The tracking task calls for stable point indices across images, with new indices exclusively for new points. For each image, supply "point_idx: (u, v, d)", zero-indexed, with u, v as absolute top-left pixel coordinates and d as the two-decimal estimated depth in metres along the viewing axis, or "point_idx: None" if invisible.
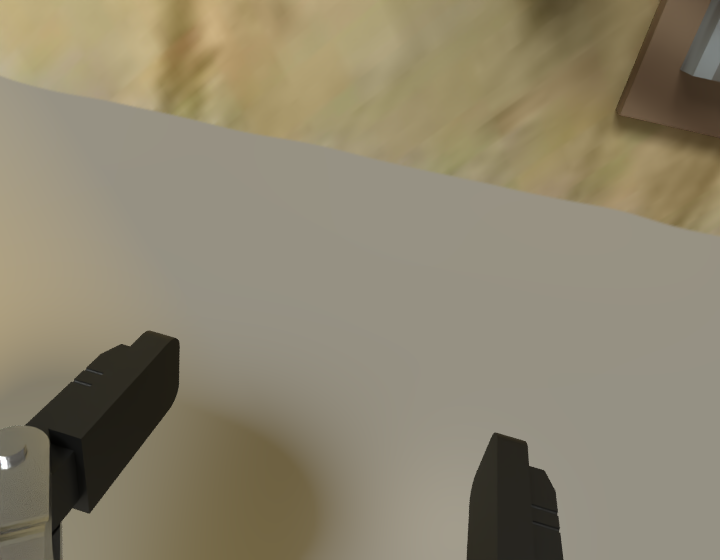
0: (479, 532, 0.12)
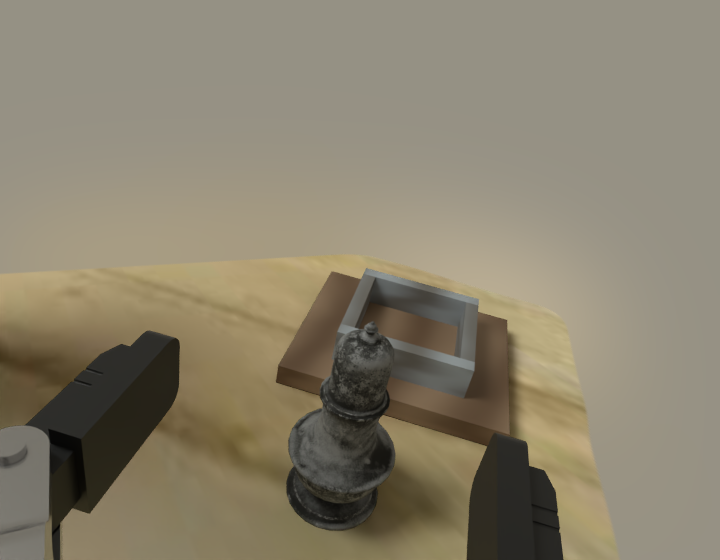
0: (479, 532, 0.12)
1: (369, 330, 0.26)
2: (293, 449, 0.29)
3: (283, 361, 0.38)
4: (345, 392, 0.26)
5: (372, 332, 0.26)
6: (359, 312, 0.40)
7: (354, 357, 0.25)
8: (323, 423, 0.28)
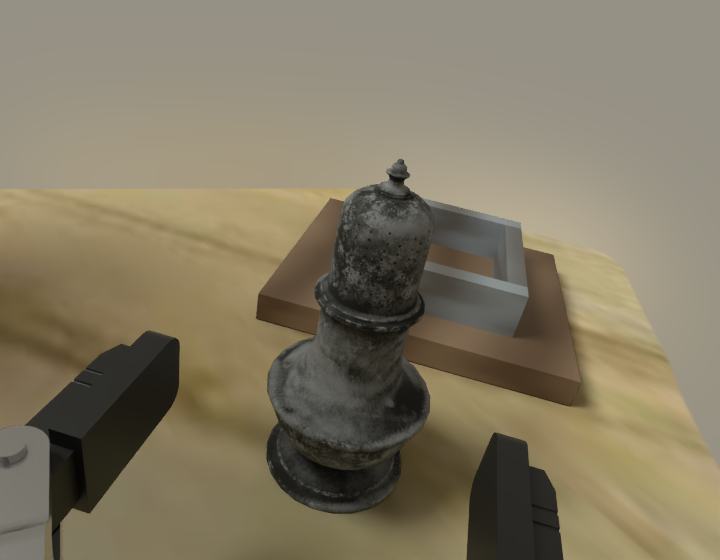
0: (479, 532, 0.12)
1: (395, 173, 0.15)
2: (274, 387, 0.19)
3: (265, 289, 0.28)
4: (356, 281, 0.16)
5: (400, 176, 0.15)
6: None
7: (371, 216, 0.15)
8: (320, 343, 0.18)
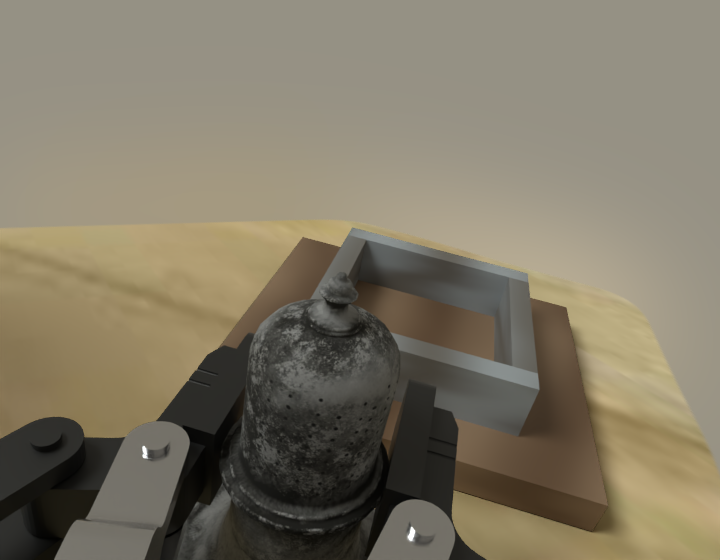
0: None
1: (332, 296, 0.09)
2: None
3: None
4: (273, 461, 0.10)
5: (341, 301, 0.09)
6: None
7: (290, 371, 0.09)
8: (231, 525, 0.12)
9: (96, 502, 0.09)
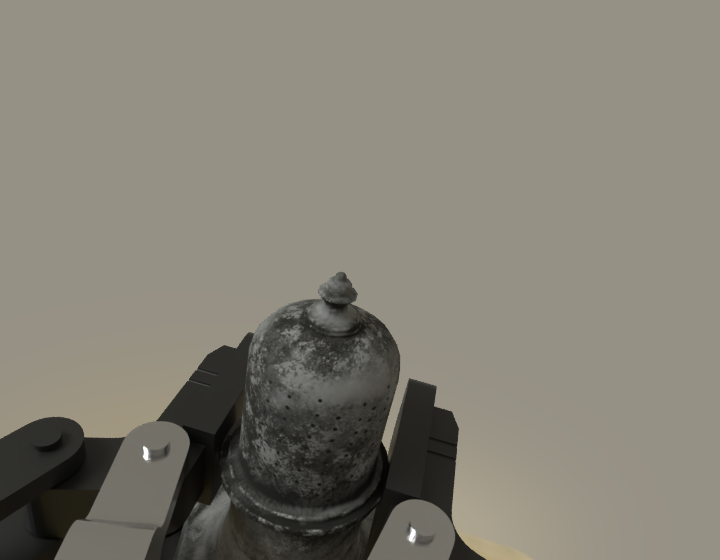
0: None
1: (331, 296, 0.09)
2: None
3: None
4: (272, 462, 0.10)
5: (340, 302, 0.09)
6: None
7: (290, 371, 0.09)
8: (231, 526, 0.12)
9: (96, 502, 0.09)
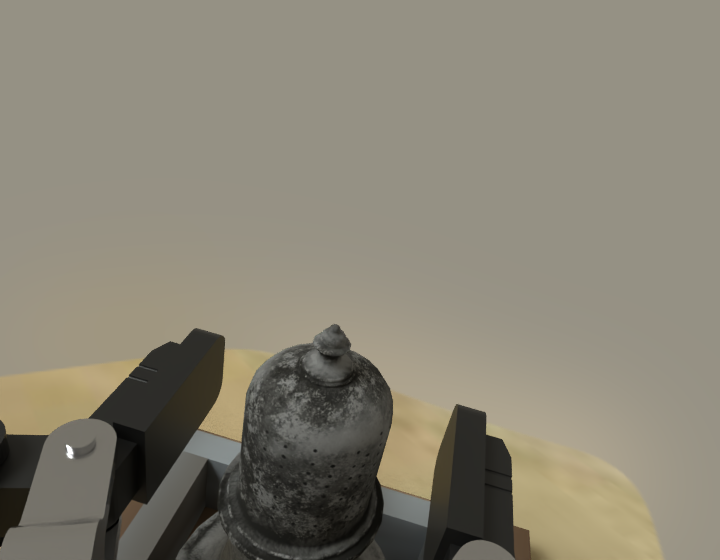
0: (438, 496, 0.12)
1: (326, 348, 0.10)
2: None
3: None
4: (269, 505, 0.10)
5: (334, 354, 0.10)
6: None
7: (286, 422, 0.09)
8: None
9: (27, 508, 0.09)
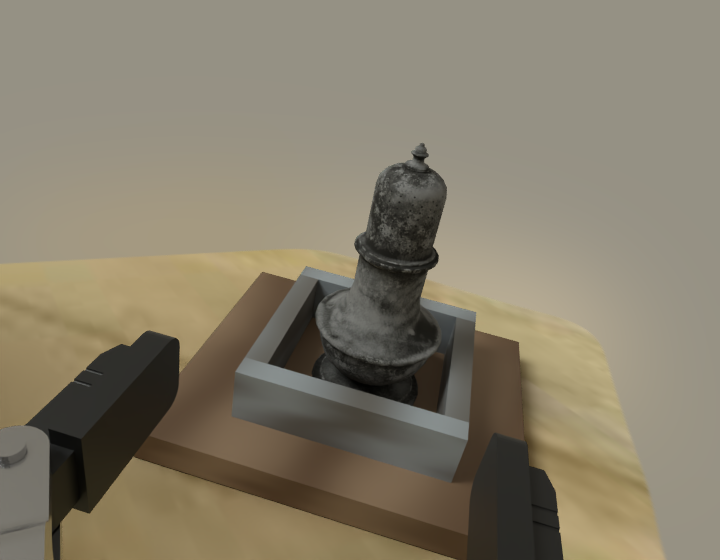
0: (479, 532, 0.12)
1: (418, 153, 0.21)
2: (322, 321, 0.24)
3: None
4: (388, 234, 0.22)
5: (422, 156, 0.21)
6: (281, 336, 0.25)
7: (400, 185, 0.21)
8: (358, 285, 0.23)
9: None
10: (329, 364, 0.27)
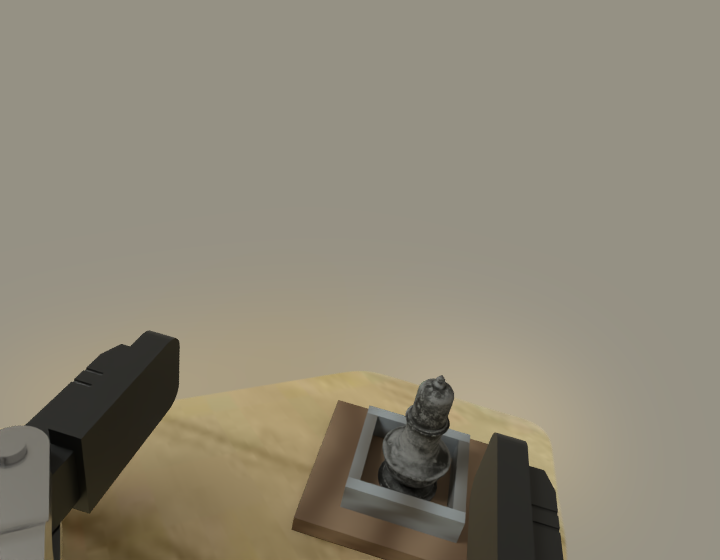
0: (479, 532, 0.12)
1: (440, 381, 0.42)
2: (386, 454, 0.45)
3: (298, 512, 0.43)
4: (424, 418, 0.43)
5: (441, 382, 0.42)
6: (364, 461, 0.46)
7: (431, 398, 0.42)
8: (407, 437, 0.44)
9: None
10: (387, 471, 0.48)
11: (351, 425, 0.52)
